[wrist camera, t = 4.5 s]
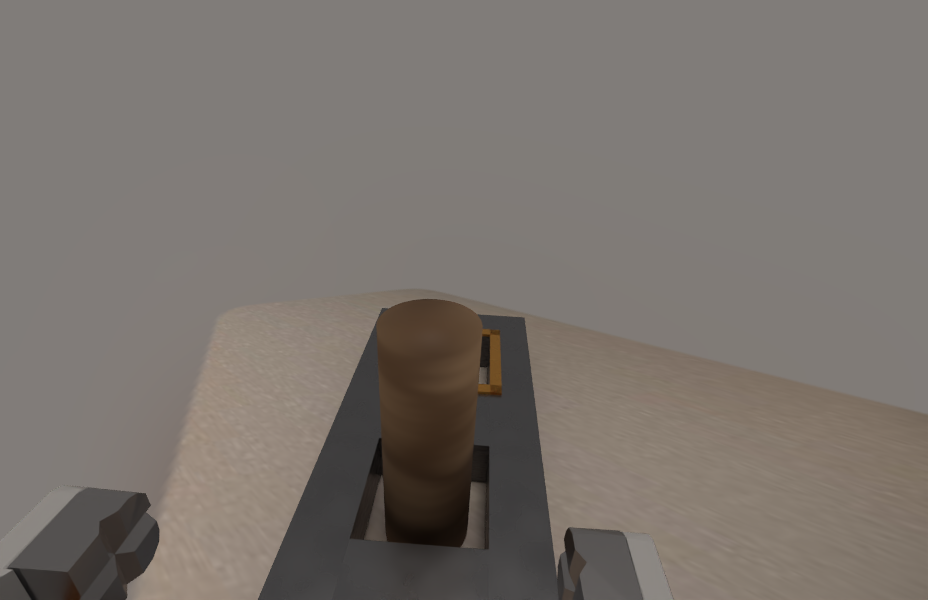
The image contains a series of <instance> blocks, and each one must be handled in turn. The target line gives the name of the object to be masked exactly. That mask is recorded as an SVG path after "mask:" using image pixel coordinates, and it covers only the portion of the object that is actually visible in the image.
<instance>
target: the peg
mask: <svg viewBox="0 0 928 600" xmlns="http://www.w3.org/2000/svg"><path fill="white" fill-rule="evenodd" d="M376 329H377V351H378V373H379V395H380V416H381V438H382V460H383V481H384V503H385V525H386V536H387V540H388V542H396V543H409V544H421V545H434V546H447V547H461V545H462V544H463V542H464V540H465V537H466V534H467V525H468V512H469V499H470V486H471V473H472V460H473V447H474V434H475V421H476V408H477V395H478V382H479V369H480V356H481V343H482V330H483V325H482V321H481V319H480V318H479V316H478V315H477V314H476V313H475V312H473V311H472V310H471V309H469V308H467V307H465V306H463V305H460V304H457V303H454V302H450V301H445V300H437V299H421V300H412V301H407V302H404V303H400V304H397V305H395V306H393V307H391V308H389V309H387V310H386V311H385V312H384V313H382V315H381V316H380V317H379V319H378V321H377V325H376Z"/></svg>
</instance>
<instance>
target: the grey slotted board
mask: <svg viewBox="0 0 928 600" xmlns="http://www.w3.org/2000/svg"><path fill="white" fill-rule="evenodd" d="M386 310H387V308H382V310H381V312H380V314H379V317H380V316H381V315H382V313H384V312H385V311H386ZM478 316H479V318H480V319H481V321H482V325H483V330H482V343H481V356H480V367H487V384H478V395H477V408H476V421H475V434H474V447H473V460H472V473H471V481H477V482H486V512H485V549H472V548H460V547H447V546H434V545H421V544H409V543H396V542H383V541H370V540H364V536H365V532H366V529H367V525H368V521H369V517H370V513H371V509H372V506H373V502H374V498H375V494H376V490H377V487H378V483H379V479H380V475H381V474H383V460H382V438H381V416H380V395H379V373H378V351H377V329H376V325H377V321H378V319H379V317H378V319H377V321H376V324H375V326H374V329H373V331H372V333H371V336H370V338H369V340H368V343H367V345H366V347H365V350H364V352H363V354H362V357H361V359H360V361H359V364H358V366H357V368H356V371H355V373H354V375H353V378H352V380H351V382H350V385H349V387H348V389H347V392H346V394H345V396H344V399H343V401H342V403H341V406H340V408H339V411H338V413H337V415H336V418H335V420H334V422H333V425H332V427H331V429H330V432H329V434H328V436H327V439H326V441H325V443H324V446H323V448H322V450H321V453H320V455H319V457H318V460H317V462H316V464H315V467H314V469H313V471H312V474H311V476H310V478H309V481H308V483H307V485H306V488H305V490H304V493H303V495H302V497H301V500H300V502H299V504H298V507H297V509H296V511H295V514H294V516H293V518H292V521H291V523H290V525H289V528H288V530H287V532H286V535H285V537H284V539H283V542H282V544H281V546H280V549H279V551H278V553H277V556H276V558H275V560H274V563H273V565H272V568H271V570H270V572H269V575H268V577H267V579H266V582H265V584H264V586H263V589H262V591H261V593H260V596H259V598H258V600H559V598H558V585H557V575H556V567H555V559H554V551H553V543H552V535H551V527H550V519H549V511H548V503H547V495H546V487H545V479H544V471H543V463H542V455H541V447H540V439H539V431H538V423H537V415H536V407H535V399H534V391H533V383H532V375H531V367H530V359H529V351H528V343H527V335H526V327H525V319H524V318H522V317H507V316H492V315H478Z"/></svg>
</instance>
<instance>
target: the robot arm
mask: <svg viewBox="0 0 928 600" xmlns="http://www.w3.org/2000/svg"><path fill="white" fill-rule="evenodd" d="M150 506H151V505H150V503H149V500H148V498H147V495H146V494H145V493H136V492H126V491H117V490H108V489H97V488H90V487H78V486H66V485H62V486H60V487H58V488H56V489H54V490H52V491H51V492H50V493H48V494H47V495H46V496H45V498H44V499H42V500H41V501H40V502H39V503H38V504H37V505H36V506H35V507H34V508H33V509H32V510H31V511H30V512H29V513H28V514H27V515H26V516H25V517H24V518H23V519H22V520H21V521H20V522H19V523H18V524H17V525H16V526H15V527H14V528H13V529H12V530H11V531H10V532H9V533H8V534H7V535H6V536H5V537H4V538H3V539H2V540H0V600H126V598H127V584H128V583H130V582H131V581H133V580H134V579H135V578H137V577H138V576H140V575H141V574H143V573H144V571H145V570H146V568H147V567H148V565H149V564H150V562H151V560H152V559H153V557H154V554H155V551H156V549H157V546H158V543H159V527H158V524H157V521H156V520H155V519H153V518H152V517H151V516H150V515H149V514H147V513H146V511H147V510H148V508H149V507H150ZM564 543H565V550H566V551H565V552H564V553H562V554H561V555H560V559H559V564H558V577H557V585H558V598H559V600H674V599H673V596H672V593H671V590H670V587H669V584H668V581H667V578H666V575H665V572H664V570H663V567H662V564H661V561H660V558H659V555H658V552H657V549H656V546H655V543H654V541H653V539H652V538H651V536H650V535H649V534H646V533H632V532H620V531H616V530H601V529H586V528H571V527H569V528H568V529H567V530H566V534H565V538H564Z"/></svg>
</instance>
